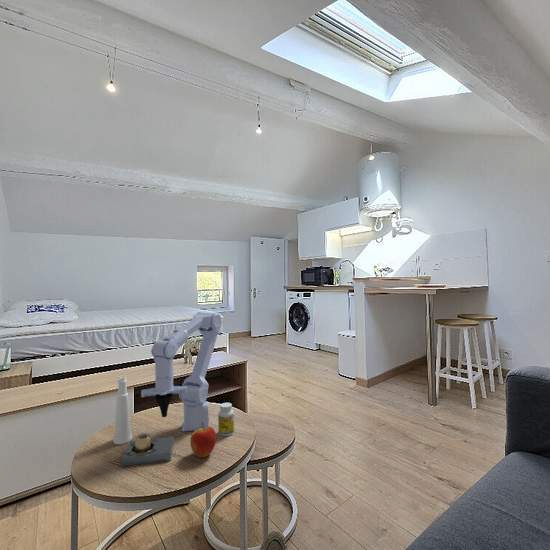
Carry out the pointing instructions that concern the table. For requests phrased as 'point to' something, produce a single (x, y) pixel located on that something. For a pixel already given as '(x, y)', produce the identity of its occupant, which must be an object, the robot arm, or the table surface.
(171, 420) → the table surface
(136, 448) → the bushing
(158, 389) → the robot arm
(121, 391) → the cosmetic bottle
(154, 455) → the plate
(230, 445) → the table surface
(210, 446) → the apple
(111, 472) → the table surface
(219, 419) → the supplement bottle
